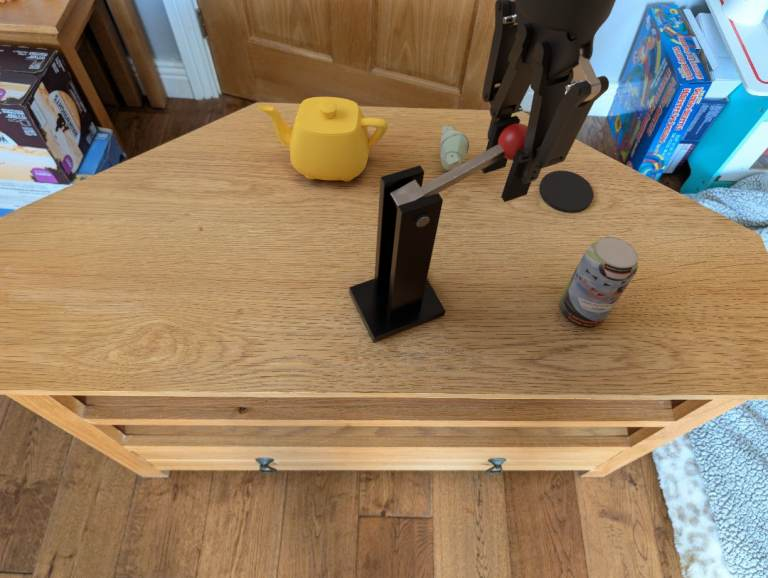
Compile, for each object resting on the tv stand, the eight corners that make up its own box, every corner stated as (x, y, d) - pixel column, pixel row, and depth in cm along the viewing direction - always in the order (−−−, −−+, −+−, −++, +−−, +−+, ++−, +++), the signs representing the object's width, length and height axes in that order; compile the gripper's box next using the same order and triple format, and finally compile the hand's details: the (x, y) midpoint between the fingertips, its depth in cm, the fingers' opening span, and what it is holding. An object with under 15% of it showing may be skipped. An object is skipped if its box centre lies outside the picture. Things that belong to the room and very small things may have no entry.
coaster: (602, 203, 83) (604, 201, 83) (558, 219, 81) (559, 216, 81) (572, 167, 87) (573, 164, 87) (529, 181, 85) (530, 178, 85)
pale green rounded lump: (434, 149, 88) (439, 115, 82) (459, 149, 88) (467, 115, 82) (439, 187, 84) (446, 154, 78) (466, 187, 84) (475, 153, 78)
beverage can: (554, 327, 71) (588, 275, 61) (557, 281, 75) (589, 225, 65) (603, 338, 71) (645, 287, 61) (604, 291, 75) (643, 236, 65)
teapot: (261, 185, 82) (250, 129, 73) (272, 134, 88) (263, 75, 79) (383, 192, 82) (387, 137, 73) (386, 140, 88) (390, 83, 79)
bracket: (417, 268, 75) (438, 147, 57) (444, 315, 72) (476, 202, 53) (348, 292, 73) (347, 173, 54) (373, 342, 69) (381, 233, 51)
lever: (523, 133, 58) (522, 109, 54) (542, 156, 56) (542, 133, 53) (394, 204, 58) (385, 184, 55) (409, 229, 56) (401, 210, 53)
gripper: (475, -91, 43) (436, 139, 63) (604, 30, 35) (514, 250, 55) (555, -105, 45) (494, 123, 65) (695, 7, 37) (576, 228, 57)
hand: (503, 181), depth 60 cm, fingers closed on lever, 4 cm apart
